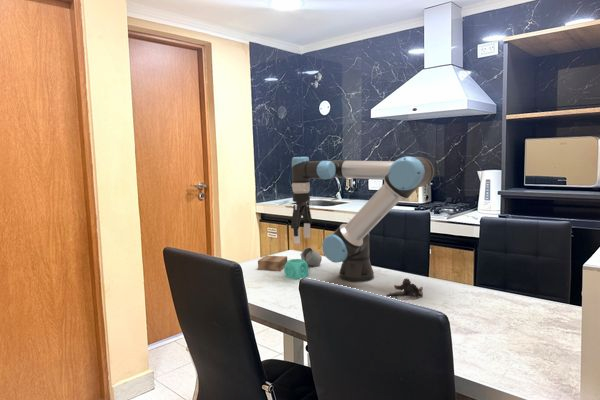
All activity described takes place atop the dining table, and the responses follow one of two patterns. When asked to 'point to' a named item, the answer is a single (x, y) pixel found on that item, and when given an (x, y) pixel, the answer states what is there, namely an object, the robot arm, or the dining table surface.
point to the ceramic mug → (311, 257)
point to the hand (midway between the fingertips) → (302, 240)
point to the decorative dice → (296, 269)
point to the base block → (272, 263)
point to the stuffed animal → (406, 291)
